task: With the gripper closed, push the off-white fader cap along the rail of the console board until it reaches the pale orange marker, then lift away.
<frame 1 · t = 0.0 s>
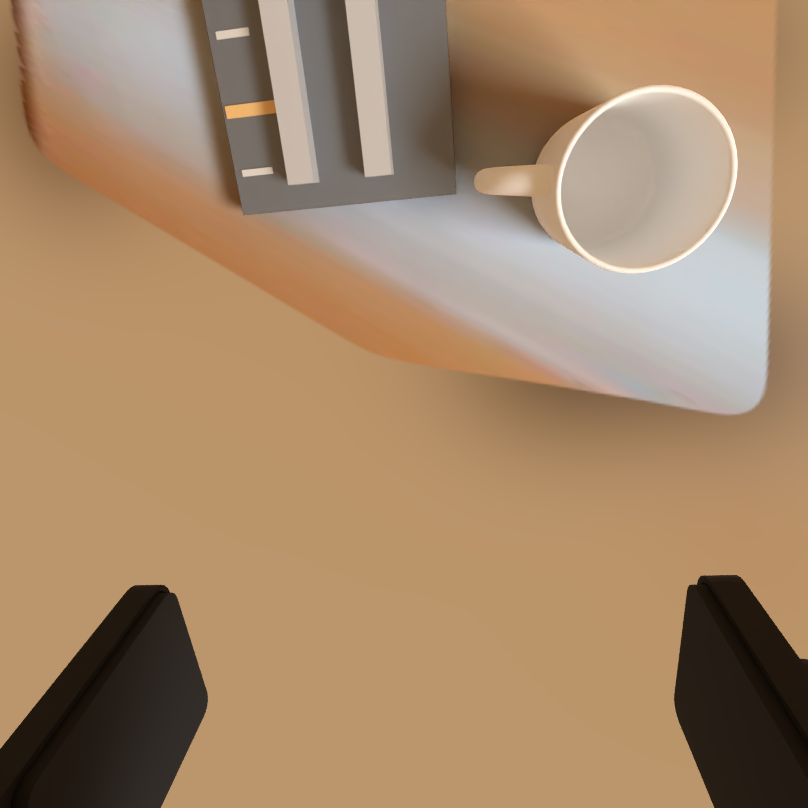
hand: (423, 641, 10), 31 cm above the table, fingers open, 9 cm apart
mug: (563, 182, 35), on the table
console: (328, 10, 33), on the table
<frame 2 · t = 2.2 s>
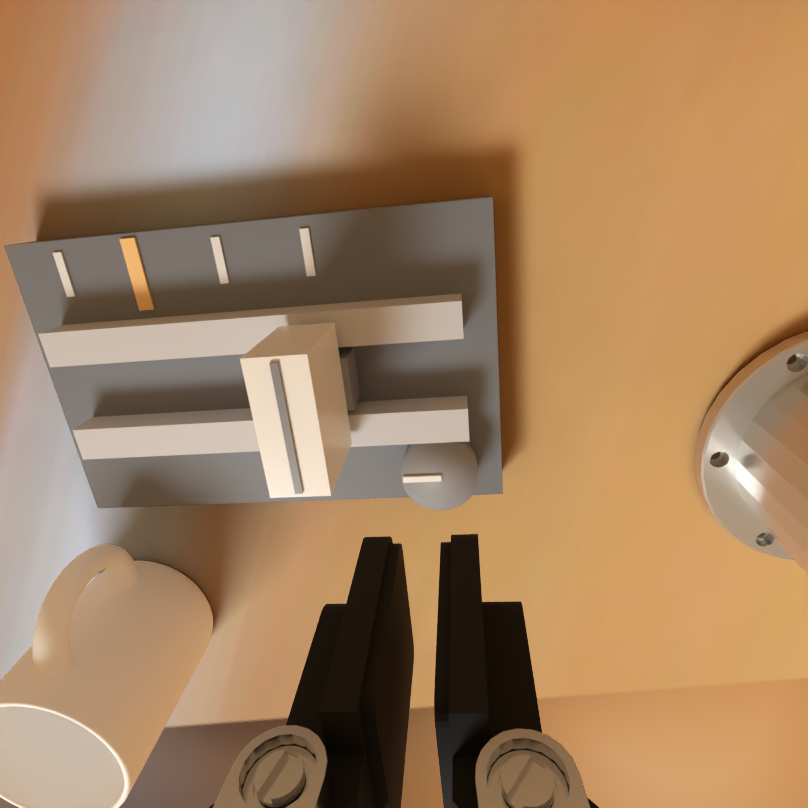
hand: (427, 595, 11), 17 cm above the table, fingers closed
mug: (152, 582, 35), on the table
console: (278, 363, 28), on the table
fader: (308, 398, 23), point 5 cm above the table, slide at 0.0 cm
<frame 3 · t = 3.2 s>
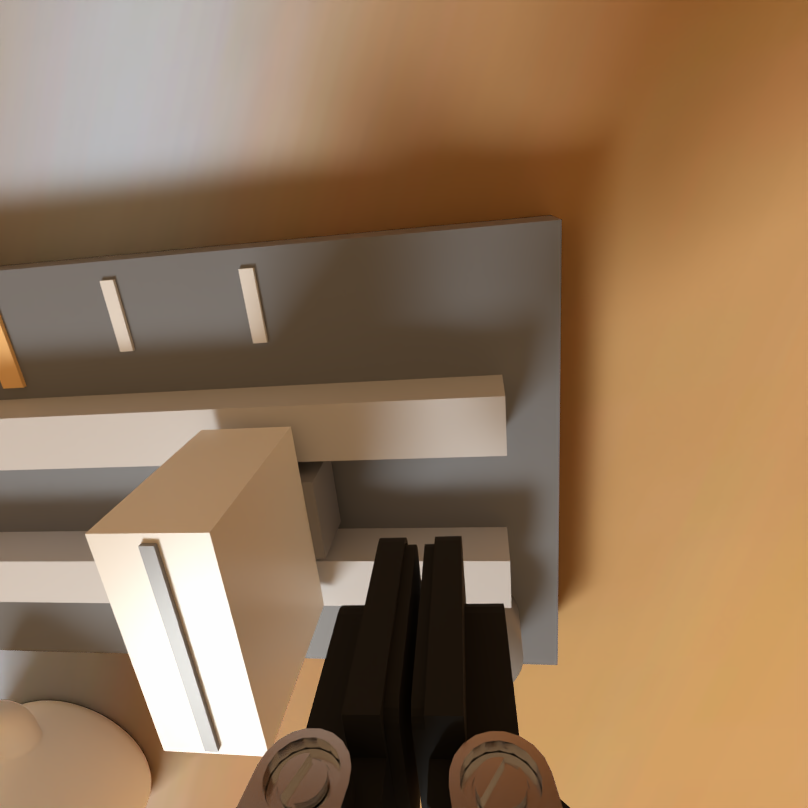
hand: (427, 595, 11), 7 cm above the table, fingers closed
mug: (72, 724, 26), on the table
console: (224, 457, 19), on the table
fader: (245, 554, 13), point 5 cm above the table, slide at 0.0 cm
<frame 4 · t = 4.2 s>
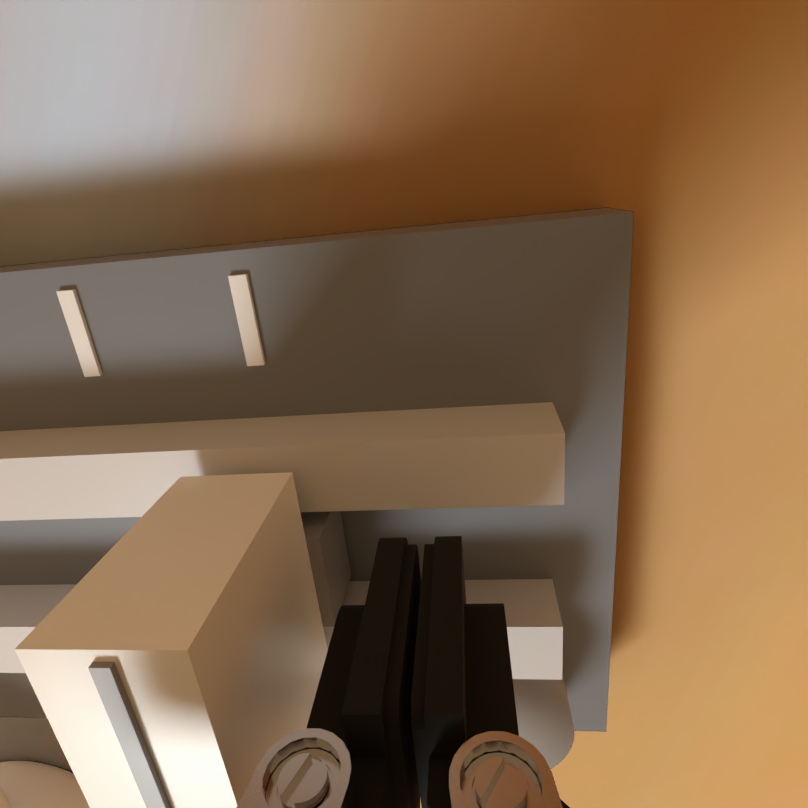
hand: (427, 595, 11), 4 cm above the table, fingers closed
mug: (46, 785, 23), on the table
console: (214, 493, 16), on the table
fader: (238, 633, 11), point 5 cm above the table, slide at 0.1 cm, touching gripper
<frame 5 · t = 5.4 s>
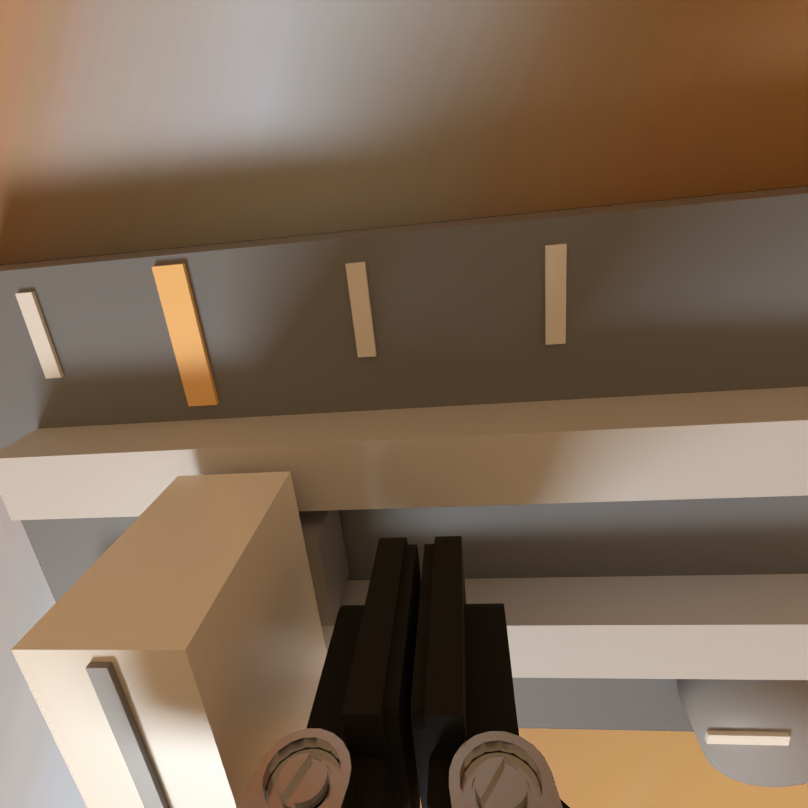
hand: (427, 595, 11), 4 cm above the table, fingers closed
console: (433, 485, 15), on the table
fader: (236, 632, 11), point 5 cm above the table, slide at 6.7 cm, touching gripper
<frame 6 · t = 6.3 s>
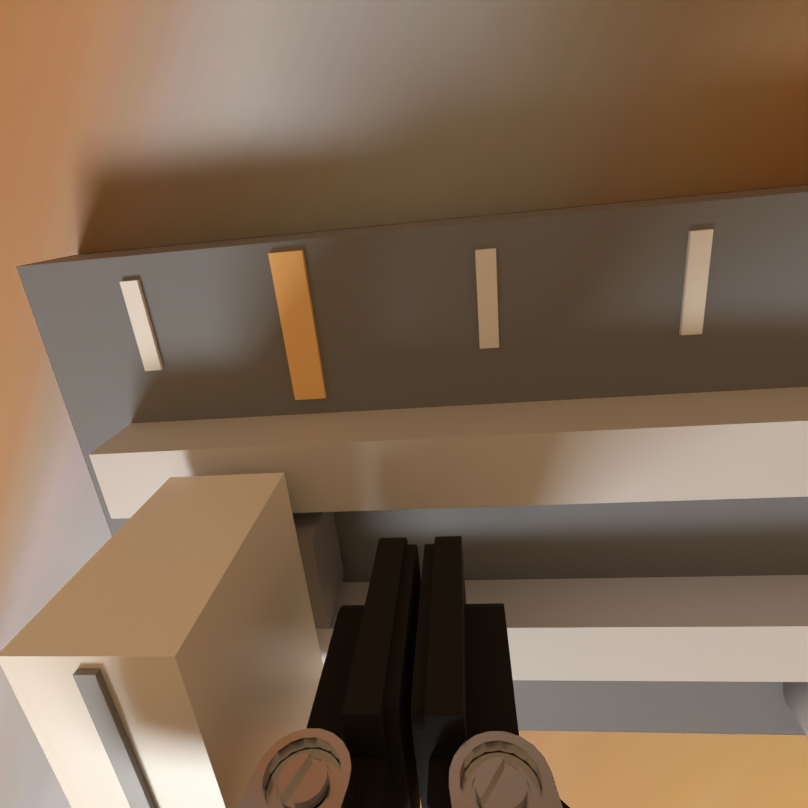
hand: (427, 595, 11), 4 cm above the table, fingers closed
console: (528, 482, 15), on the table
fader: (229, 636, 11), point 5 cm above the table, slide at 9.4 cm, touching gripper
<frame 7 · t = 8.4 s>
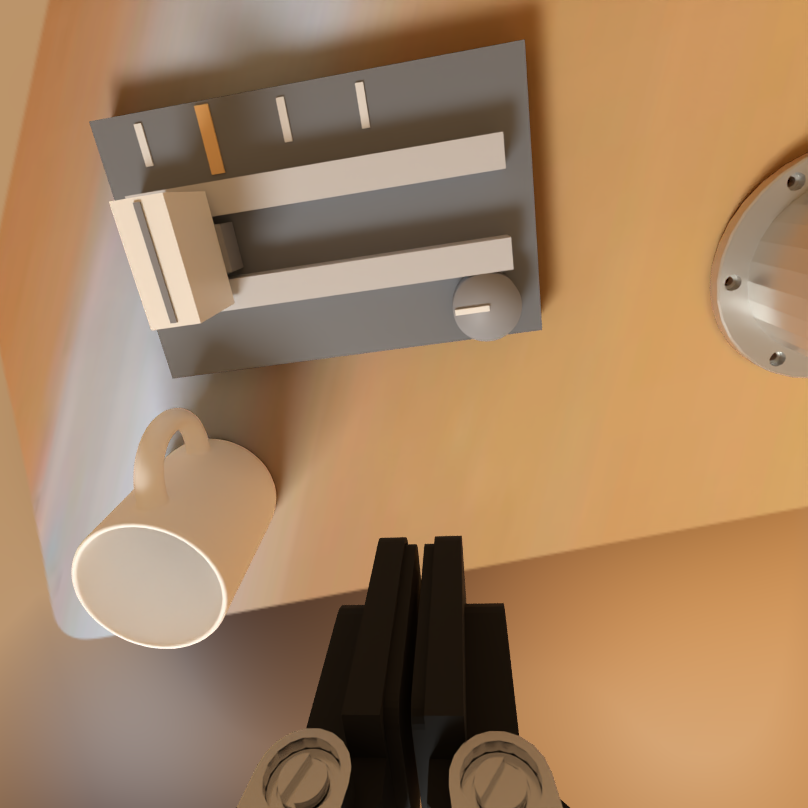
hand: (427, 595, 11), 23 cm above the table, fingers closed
mug: (218, 462, 37), on the table
console: (332, 227, 31), on the table
fader: (186, 256, 27), point 5 cm above the table, slide at 9.4 cm
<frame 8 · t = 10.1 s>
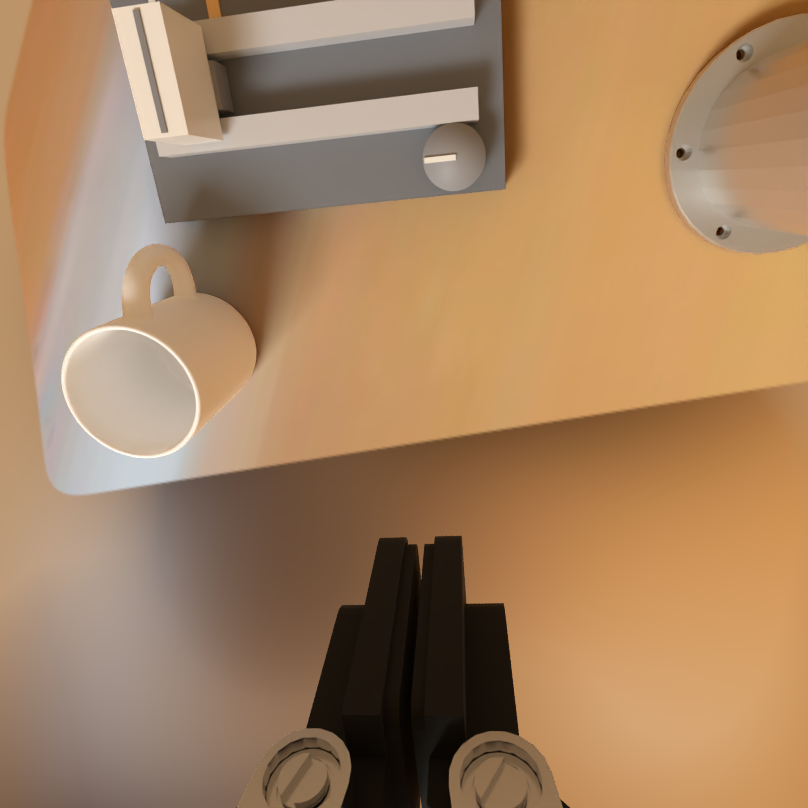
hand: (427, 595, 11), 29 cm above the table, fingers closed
mug: (204, 320, 40), on the table
console: (319, 85, 34), on the table
fader: (180, 84, 29), point 5 cm above the table, slide at 9.4 cm
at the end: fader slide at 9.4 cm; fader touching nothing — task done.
